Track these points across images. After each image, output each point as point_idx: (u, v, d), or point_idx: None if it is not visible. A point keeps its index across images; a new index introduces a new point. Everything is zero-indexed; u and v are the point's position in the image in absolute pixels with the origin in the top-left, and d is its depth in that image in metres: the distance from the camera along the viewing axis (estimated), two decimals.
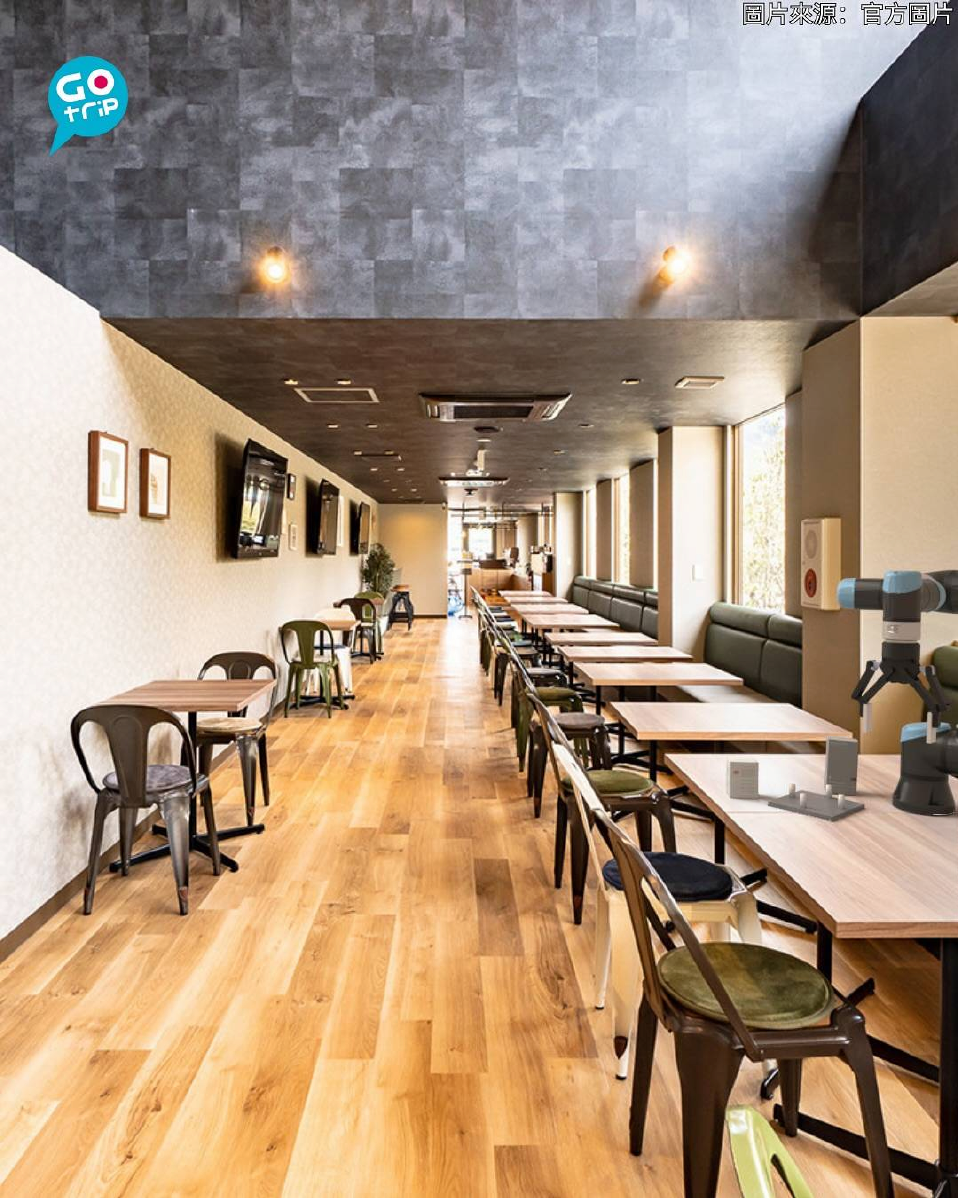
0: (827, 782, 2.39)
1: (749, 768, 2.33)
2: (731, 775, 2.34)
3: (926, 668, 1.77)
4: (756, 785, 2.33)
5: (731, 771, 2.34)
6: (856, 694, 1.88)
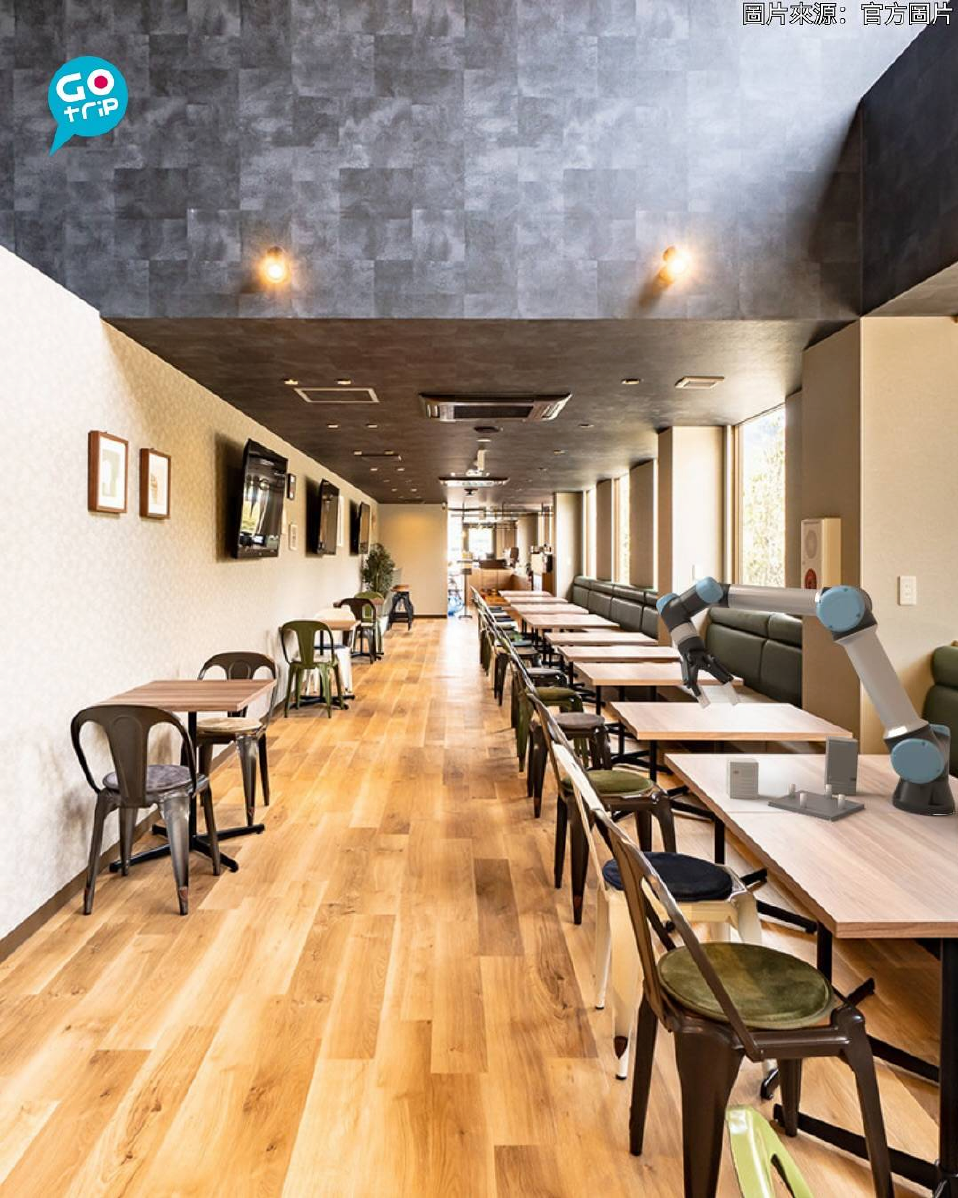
0: (827, 782, 2.39)
1: (749, 768, 2.33)
2: (731, 775, 2.34)
3: None
4: (756, 785, 2.33)
5: (731, 771, 2.34)
6: None
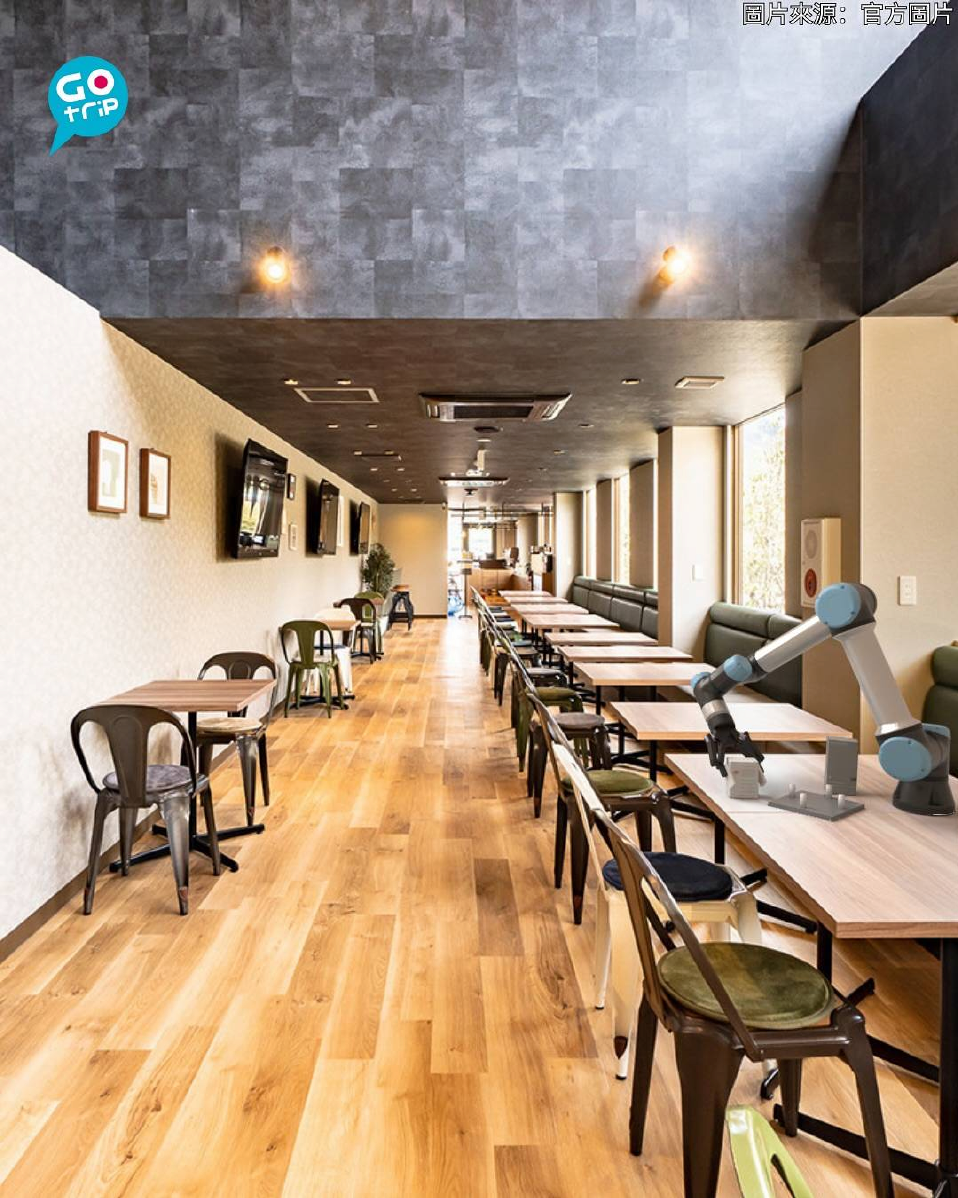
0: (827, 782, 2.39)
1: (749, 768, 2.33)
2: None
3: None
4: (756, 785, 2.33)
5: (731, 771, 2.34)
6: None
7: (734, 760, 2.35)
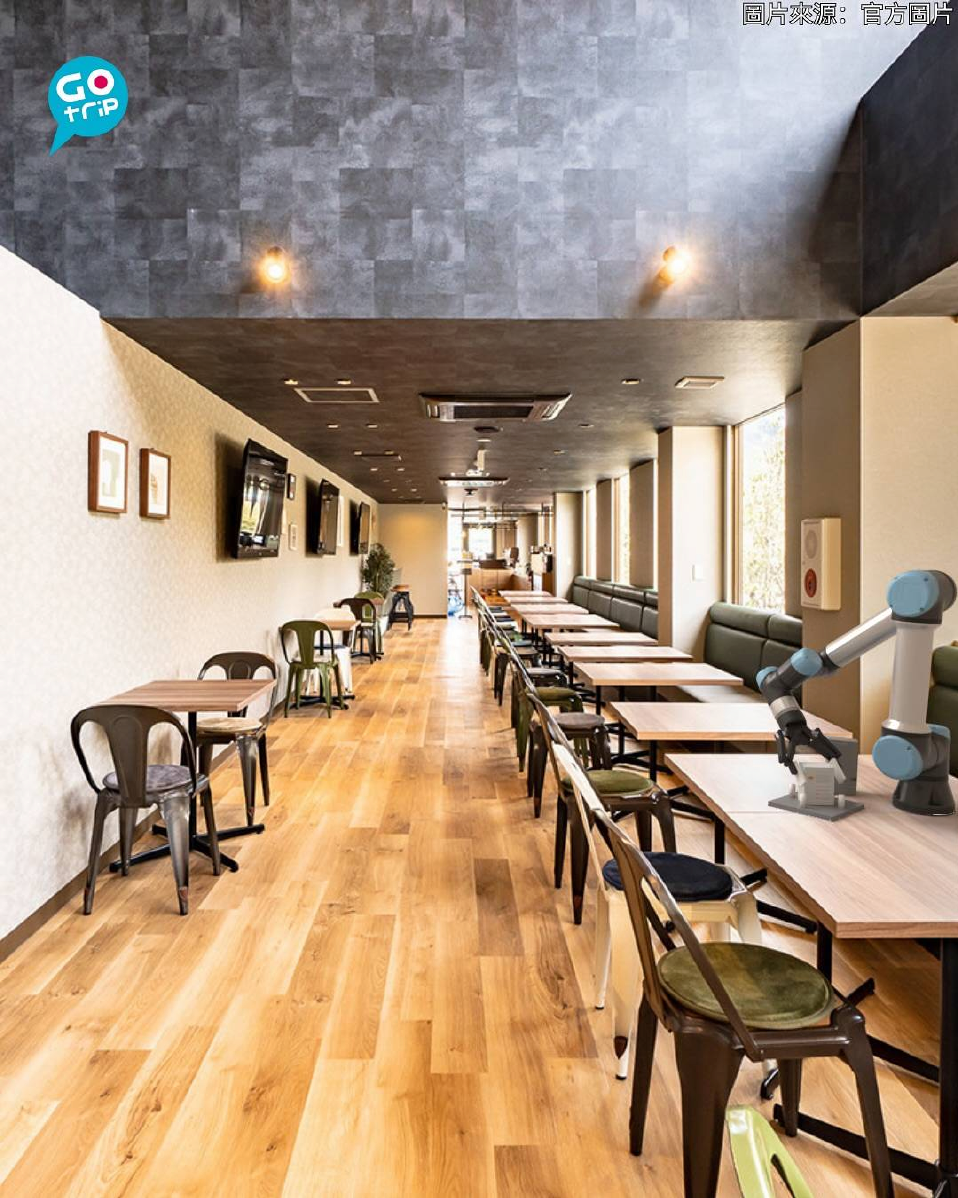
0: None
1: (824, 774, 2.23)
2: None
3: None
4: (832, 791, 2.23)
5: (805, 777, 2.23)
6: None
7: (808, 765, 2.24)
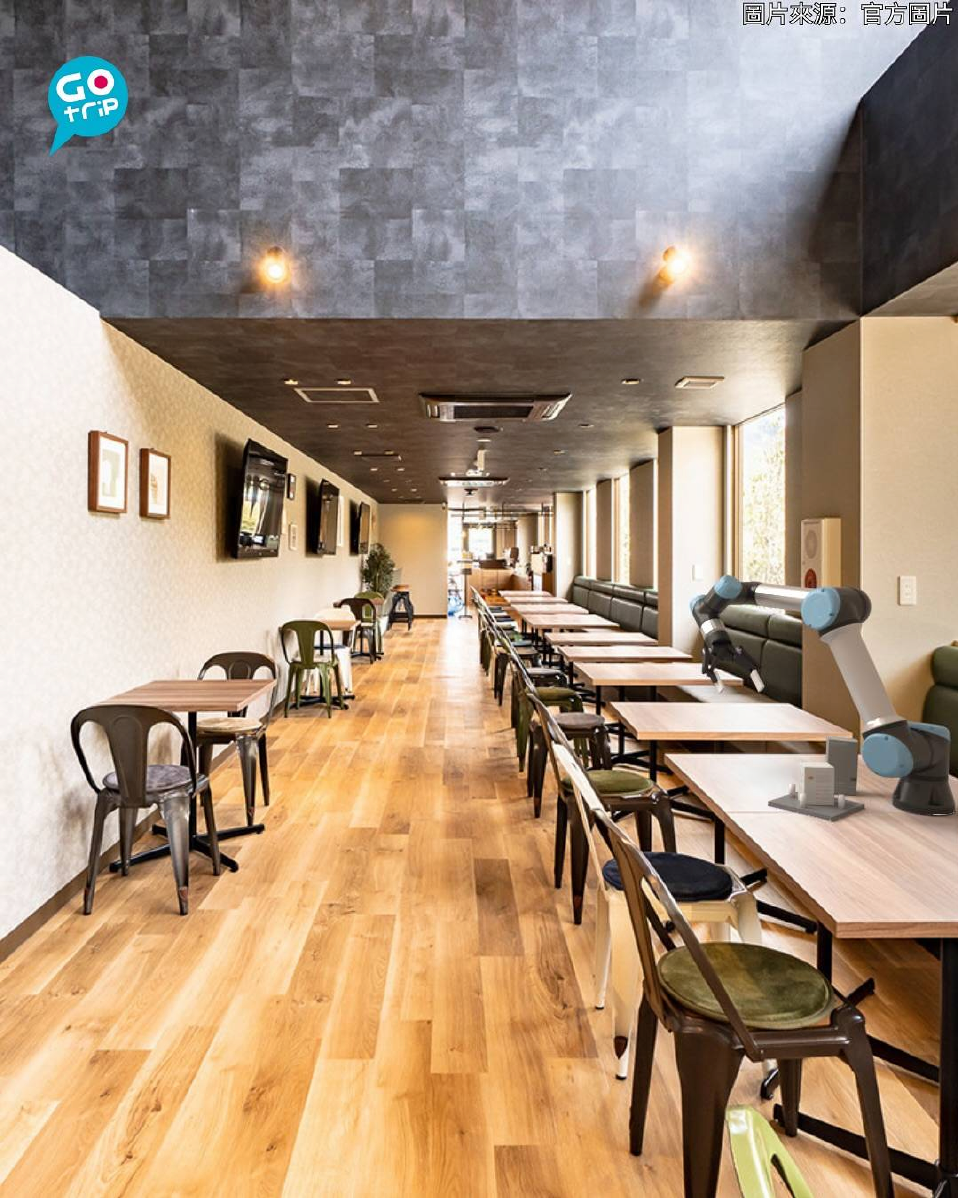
0: None
1: (824, 773, 2.23)
2: (805, 781, 2.23)
3: None
4: (832, 791, 2.23)
5: (805, 777, 2.23)
6: None
7: (808, 765, 2.24)
